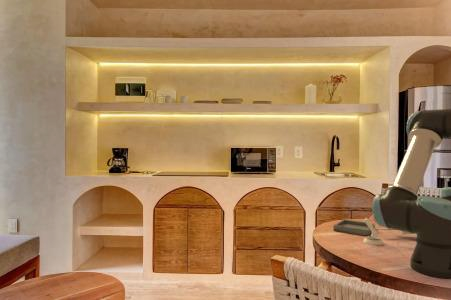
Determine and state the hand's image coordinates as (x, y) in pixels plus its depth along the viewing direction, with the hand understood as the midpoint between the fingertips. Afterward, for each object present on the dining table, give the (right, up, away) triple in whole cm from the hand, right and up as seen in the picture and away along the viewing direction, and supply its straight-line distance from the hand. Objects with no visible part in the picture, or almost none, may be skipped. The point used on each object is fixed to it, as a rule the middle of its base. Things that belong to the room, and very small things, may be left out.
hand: (390, 226), depth 144 cm
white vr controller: (-8, -6, -2) cm, 11 cm away
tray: (-8, -5, +18) cm, 21 cm away
